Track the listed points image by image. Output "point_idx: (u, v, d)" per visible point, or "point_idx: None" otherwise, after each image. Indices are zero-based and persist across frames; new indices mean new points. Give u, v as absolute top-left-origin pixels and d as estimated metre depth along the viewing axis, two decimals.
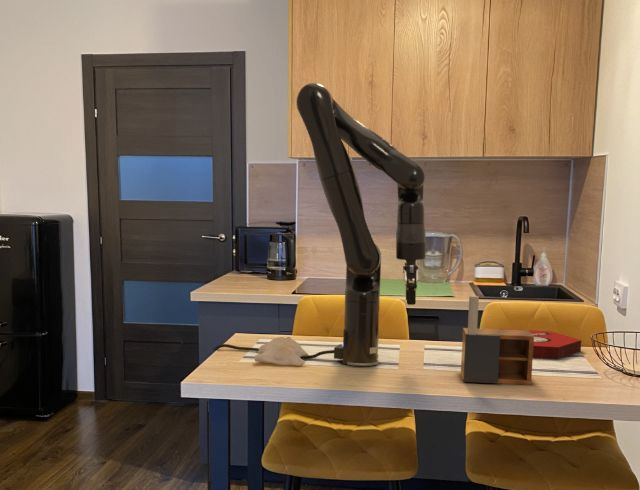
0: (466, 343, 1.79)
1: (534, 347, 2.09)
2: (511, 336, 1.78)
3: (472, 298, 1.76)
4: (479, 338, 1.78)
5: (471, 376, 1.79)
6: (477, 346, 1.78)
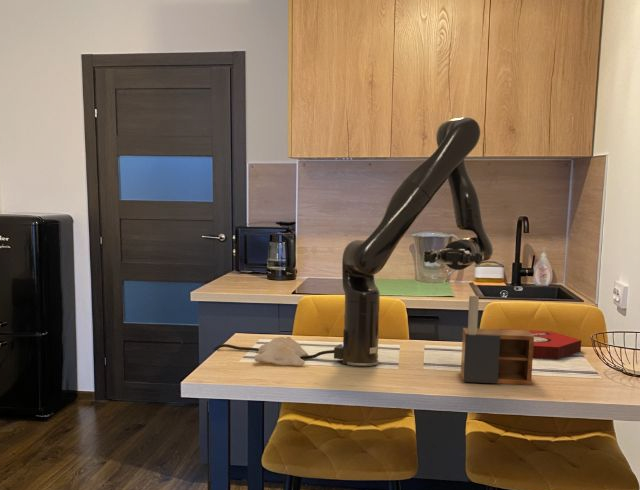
0: (466, 343, 1.79)
1: (534, 347, 2.09)
2: (511, 336, 1.78)
3: (472, 298, 1.76)
4: (479, 338, 1.78)
5: (471, 376, 1.79)
6: (477, 346, 1.78)
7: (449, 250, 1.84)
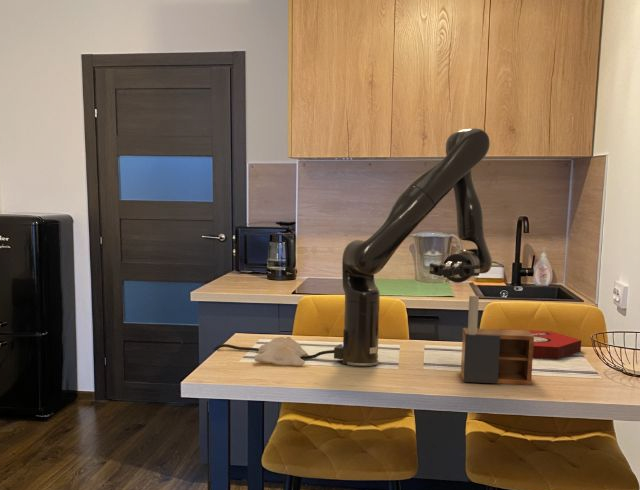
0: (466, 343, 1.79)
1: (534, 347, 2.09)
2: (511, 336, 1.78)
3: (472, 298, 1.76)
4: (479, 338, 1.78)
5: (471, 376, 1.79)
6: (477, 346, 1.78)
7: (449, 263, 1.84)
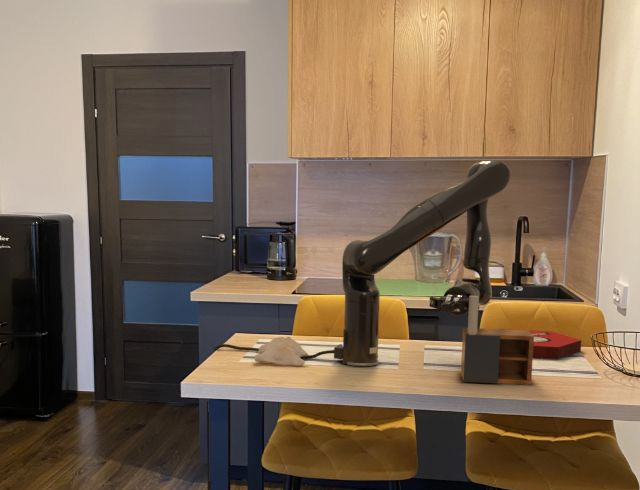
0: (466, 343, 1.79)
1: (534, 347, 2.09)
2: (511, 336, 1.78)
3: (472, 298, 1.76)
4: (479, 338, 1.78)
5: (471, 376, 1.79)
6: (477, 346, 1.78)
7: (449, 296, 1.84)
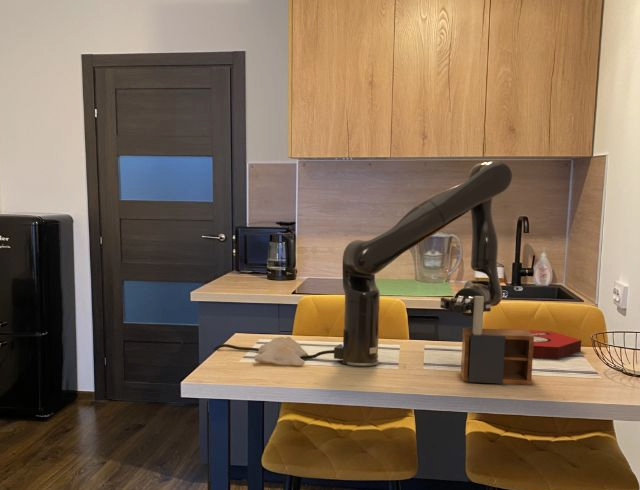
0: (471, 343, 1.78)
1: (534, 347, 2.09)
2: (511, 336, 1.78)
3: (477, 298, 1.76)
4: (484, 338, 1.78)
5: (476, 376, 1.79)
6: (482, 346, 1.78)
7: (460, 297, 1.84)
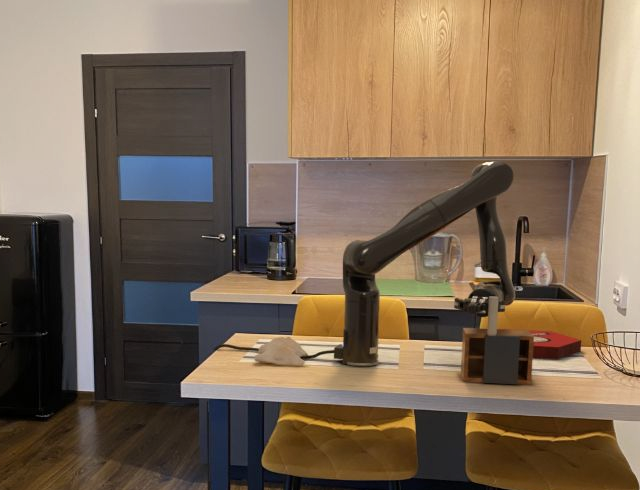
0: (486, 344, 1.78)
1: (534, 347, 2.09)
2: None
3: (492, 299, 1.76)
4: (499, 339, 1.77)
5: (490, 377, 1.79)
6: (496, 346, 1.77)
7: (474, 298, 1.83)
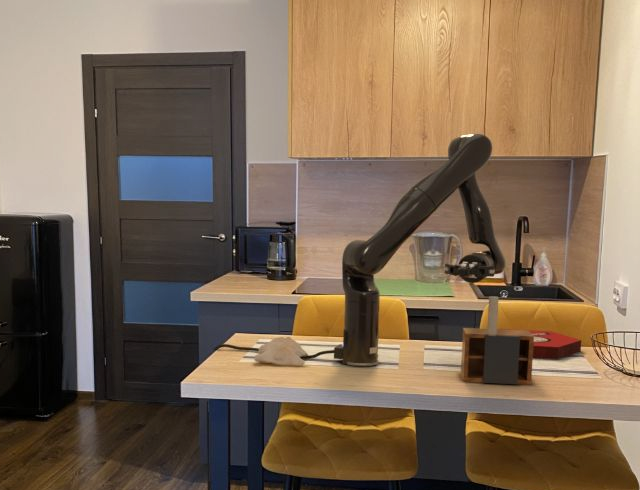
0: (486, 344, 1.78)
1: (534, 347, 2.09)
2: None
3: (492, 299, 1.76)
4: (499, 339, 1.77)
5: (490, 377, 1.79)
6: (496, 346, 1.77)
7: None
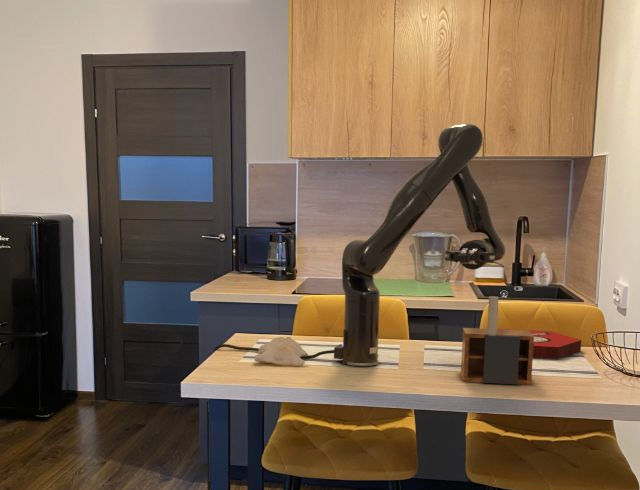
0: (486, 344, 1.78)
1: (534, 347, 2.09)
2: None
3: (492, 299, 1.76)
4: (499, 339, 1.77)
5: (490, 377, 1.79)
6: (496, 346, 1.77)
7: (464, 250, 1.88)
